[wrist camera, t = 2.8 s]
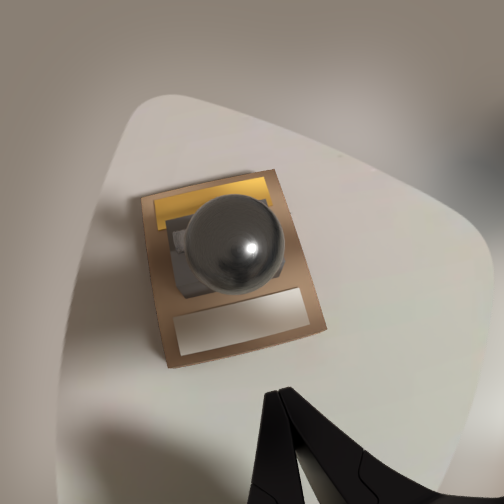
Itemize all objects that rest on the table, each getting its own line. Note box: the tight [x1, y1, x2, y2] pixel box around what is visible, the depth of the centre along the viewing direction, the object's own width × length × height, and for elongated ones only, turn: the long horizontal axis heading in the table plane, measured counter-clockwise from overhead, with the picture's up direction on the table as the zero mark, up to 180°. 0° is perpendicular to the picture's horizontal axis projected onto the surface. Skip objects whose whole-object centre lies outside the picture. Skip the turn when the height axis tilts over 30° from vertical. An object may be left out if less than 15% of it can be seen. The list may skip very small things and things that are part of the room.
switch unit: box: [141, 169, 327, 368], centre depth 20 cm, size 12×10×5 cm
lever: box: [173, 194, 285, 295], centre depth 13 cm, size 3×5×9 cm, turn 105°
